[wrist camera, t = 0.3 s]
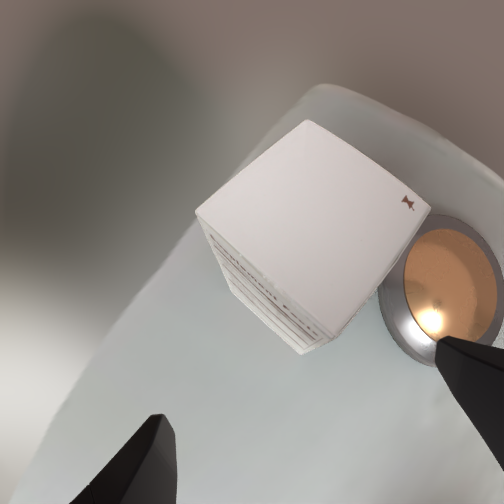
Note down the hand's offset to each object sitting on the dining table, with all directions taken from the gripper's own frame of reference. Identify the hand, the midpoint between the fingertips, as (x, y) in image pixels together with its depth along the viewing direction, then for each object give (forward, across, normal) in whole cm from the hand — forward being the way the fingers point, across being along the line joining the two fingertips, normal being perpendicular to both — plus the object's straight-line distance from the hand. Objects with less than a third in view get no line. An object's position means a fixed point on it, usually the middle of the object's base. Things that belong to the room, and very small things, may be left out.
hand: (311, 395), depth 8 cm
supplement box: (+15, -2, +3) cm, 15 cm away
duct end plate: (+12, -15, +6) cm, 20 cm away
